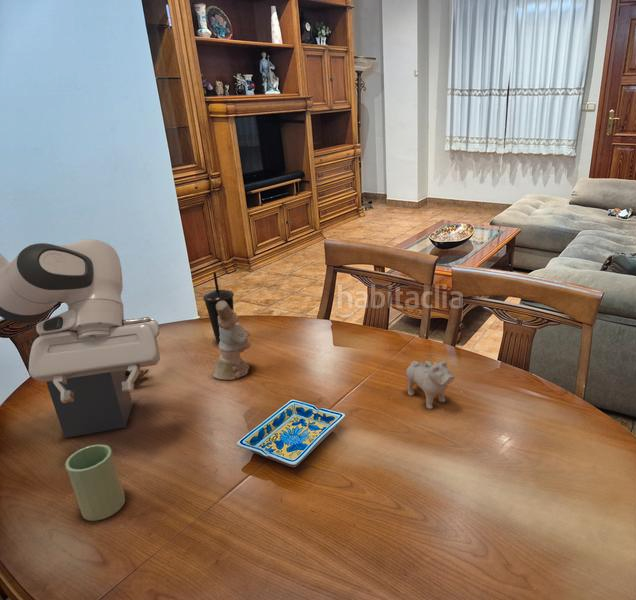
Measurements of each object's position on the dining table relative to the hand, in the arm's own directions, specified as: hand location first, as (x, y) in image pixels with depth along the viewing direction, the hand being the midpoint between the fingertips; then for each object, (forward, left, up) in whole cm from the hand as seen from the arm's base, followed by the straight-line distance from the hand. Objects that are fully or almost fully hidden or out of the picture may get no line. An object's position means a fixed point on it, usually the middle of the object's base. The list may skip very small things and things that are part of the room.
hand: (98, 397), depth 89 cm
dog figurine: (+62, +1, -15) cm, 64 cm away
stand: (-6, +16, -14) cm, 22 cm away
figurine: (+21, +27, -15) cm, 37 cm away
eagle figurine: (-1, +31, -15) cm, 34 cm away
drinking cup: (+19, +45, -15) cm, 51 cm away
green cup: (0, -11, -14) cm, 18 cm away
